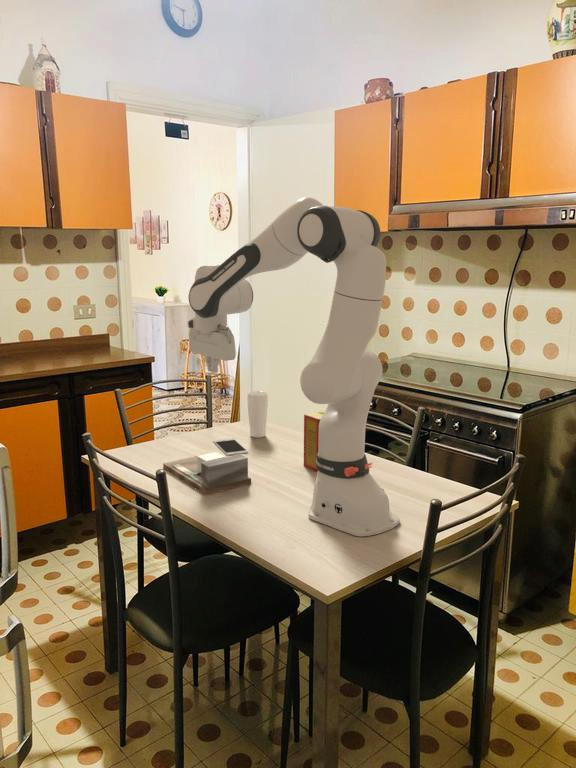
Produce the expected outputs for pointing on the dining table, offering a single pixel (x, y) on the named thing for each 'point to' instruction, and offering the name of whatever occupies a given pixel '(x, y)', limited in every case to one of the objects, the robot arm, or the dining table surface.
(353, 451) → the robot arm
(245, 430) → the dining table surface
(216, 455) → the white rectangular block
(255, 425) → the white travel tumbler
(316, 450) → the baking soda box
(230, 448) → the smartphone
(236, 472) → the grey stepped block
